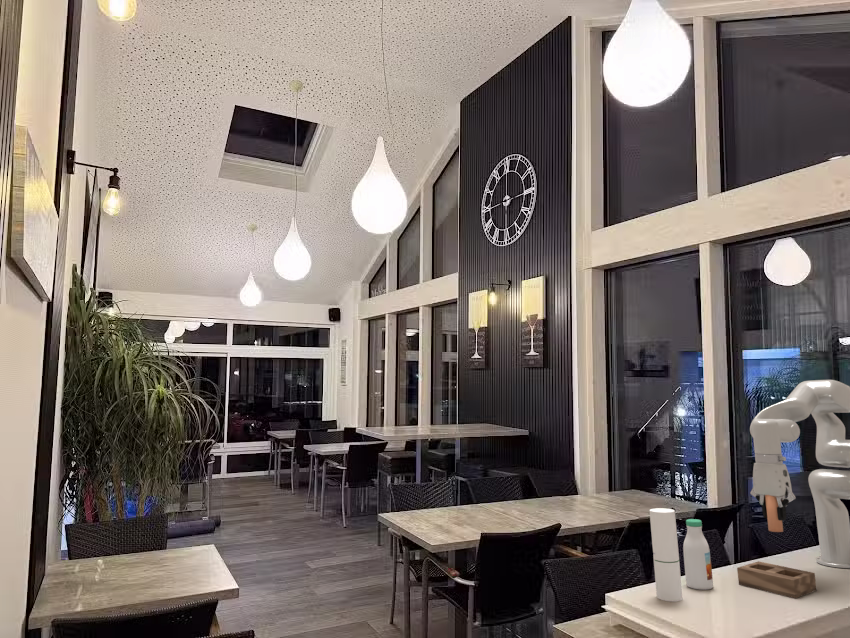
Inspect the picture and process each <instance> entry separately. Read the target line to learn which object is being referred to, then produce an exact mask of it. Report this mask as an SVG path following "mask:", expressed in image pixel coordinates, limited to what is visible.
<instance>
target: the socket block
mask: <svg viewBox="0 0 850 638" xmlns="http://www.w3.org/2000/svg"><path fill="white" fill-rule="evenodd" d="M736 570H737V579H738V580H737V582H738V585H740V586H743V587H748V588H752V589H755V590H760V591H765V592H767V591H768V593H771V592H772V594H775V593H776V594H775V595H779V594H780V596H784V597H787V598H792V599H798V598H800V597H803V596H806V595H808V594H812V593H813V592H817V583H816V573H815V572H812V571H807V570H802V569H797V568H792V567H787V566H783V565H779V564H778V565H777V564H773V563H769V562H763V561H759V560H758V561H756V562H752V563H749V564H748V563H747V564H746V565H742V566H739V567H736Z"/></svg>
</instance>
